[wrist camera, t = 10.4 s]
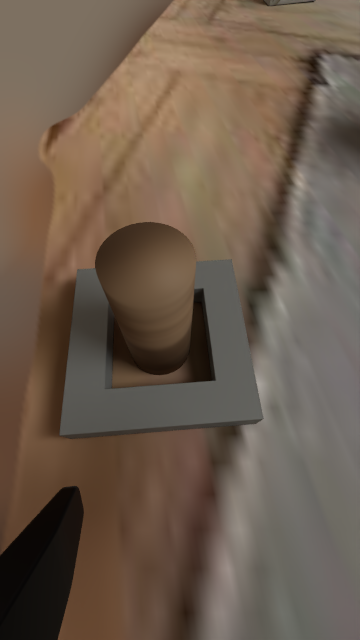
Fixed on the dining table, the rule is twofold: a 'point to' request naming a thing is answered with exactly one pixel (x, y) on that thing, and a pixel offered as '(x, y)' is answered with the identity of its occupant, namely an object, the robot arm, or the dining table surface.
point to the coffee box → (284, 2)
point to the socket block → (159, 400)
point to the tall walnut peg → (150, 292)
